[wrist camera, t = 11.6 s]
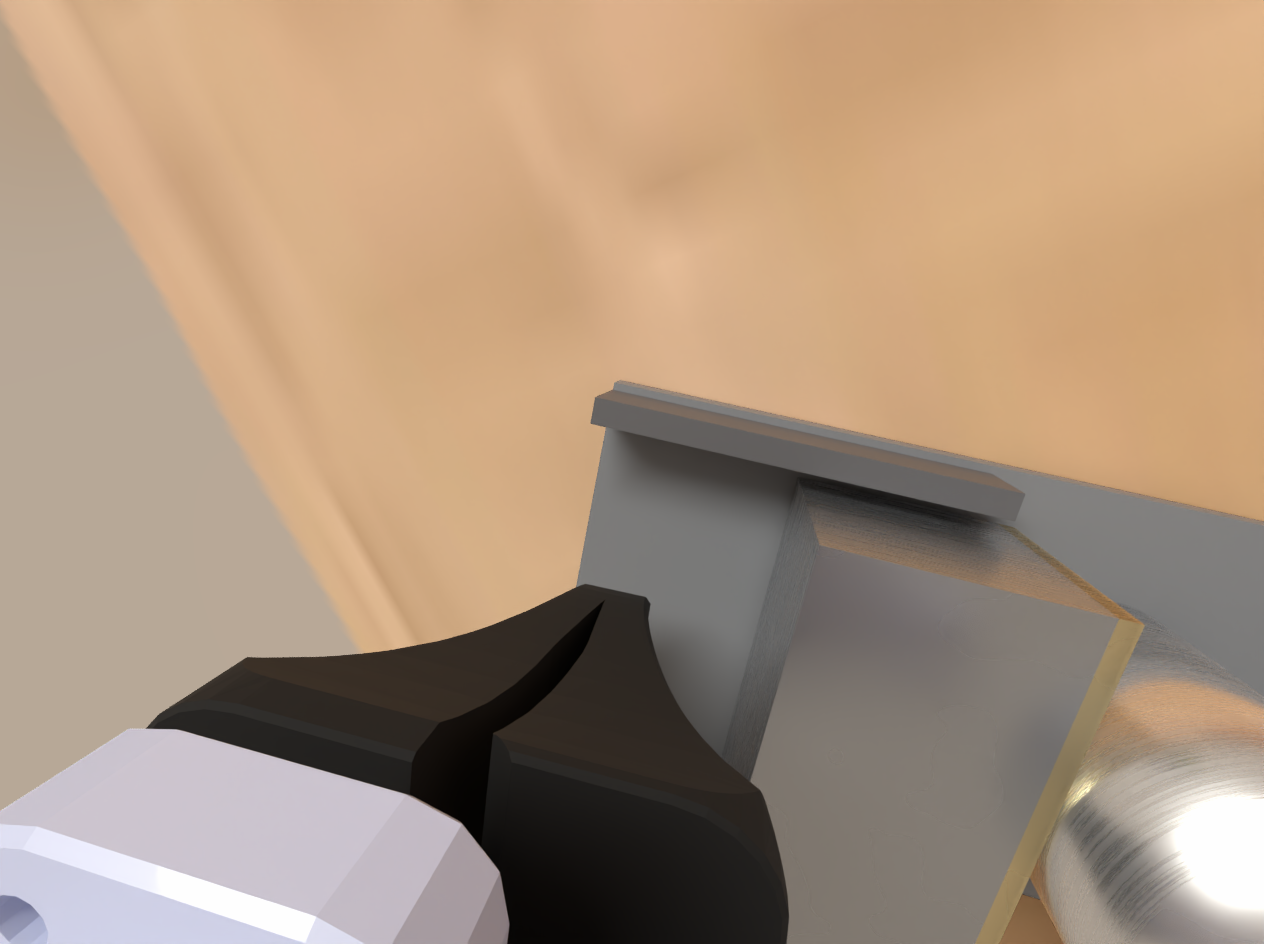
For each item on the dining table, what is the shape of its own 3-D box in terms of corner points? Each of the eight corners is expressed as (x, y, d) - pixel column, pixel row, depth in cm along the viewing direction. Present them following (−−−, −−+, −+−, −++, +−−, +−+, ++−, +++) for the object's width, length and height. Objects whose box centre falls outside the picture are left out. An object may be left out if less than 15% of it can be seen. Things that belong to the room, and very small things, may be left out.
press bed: (1572, 589, 11) (2378, 842, 5) (1328, 967, 13) (1726, 1407, 8) (620, 380, 13) (530, 413, 8) (553, 731, 16) (449, 942, 10)
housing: (1194, 582, 11) (1821, 938, 5) (1209, 791, 12) (1766, 1352, 6) (935, 614, 12) (1148, 944, 6) (965, 805, 13) (1183, 1293, 7)
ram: (1014, 527, 12) (1145, 625, 8) (900, 826, 13) (960, 1026, 9) (798, 477, 12) (820, 545, 8) (717, 770, 14) (704, 938, 10)
